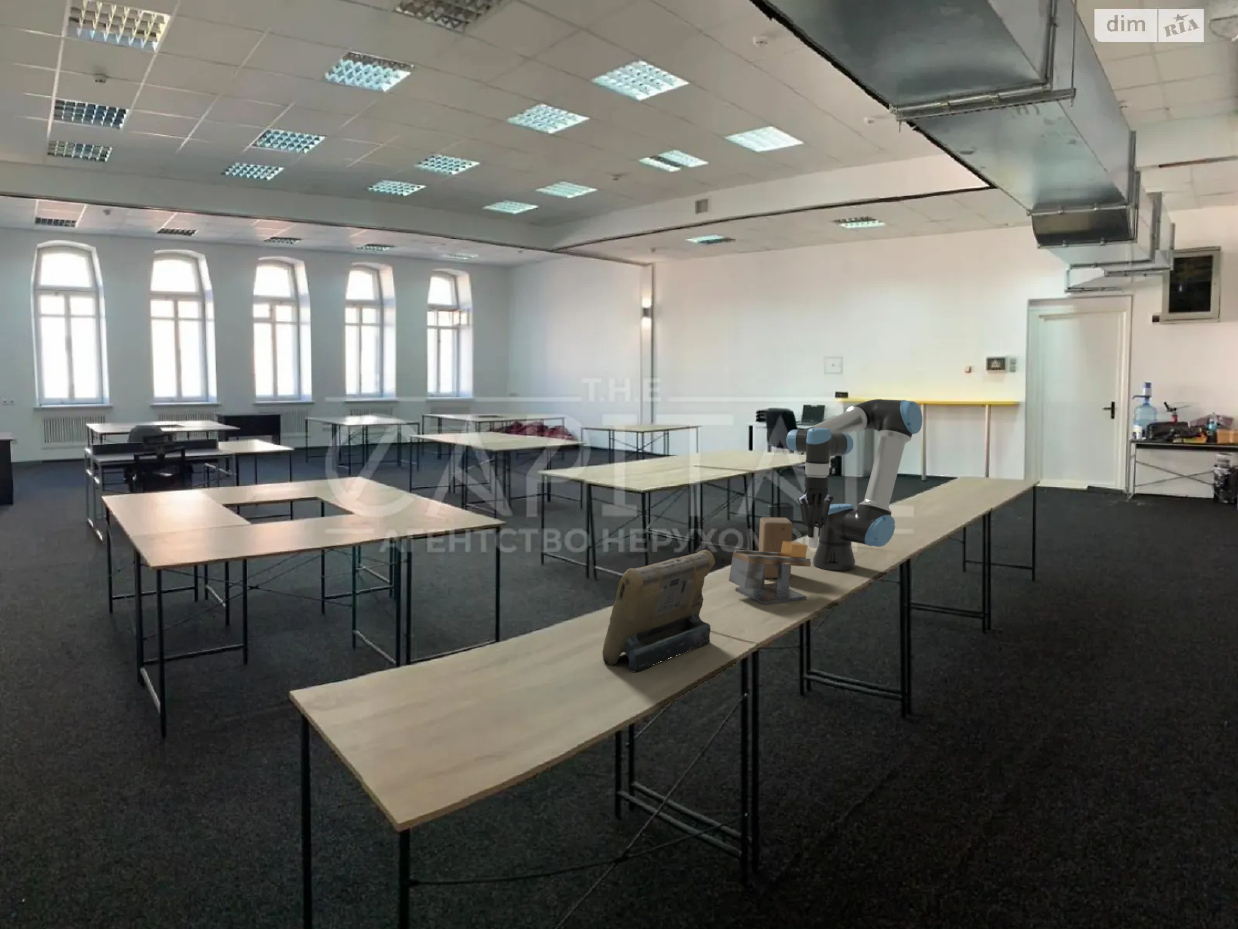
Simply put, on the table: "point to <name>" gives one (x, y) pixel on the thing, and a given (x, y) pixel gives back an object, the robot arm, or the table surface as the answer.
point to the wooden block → (774, 539)
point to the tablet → (659, 611)
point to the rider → (793, 549)
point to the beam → (757, 566)
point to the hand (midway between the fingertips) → (813, 546)
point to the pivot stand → (774, 588)
